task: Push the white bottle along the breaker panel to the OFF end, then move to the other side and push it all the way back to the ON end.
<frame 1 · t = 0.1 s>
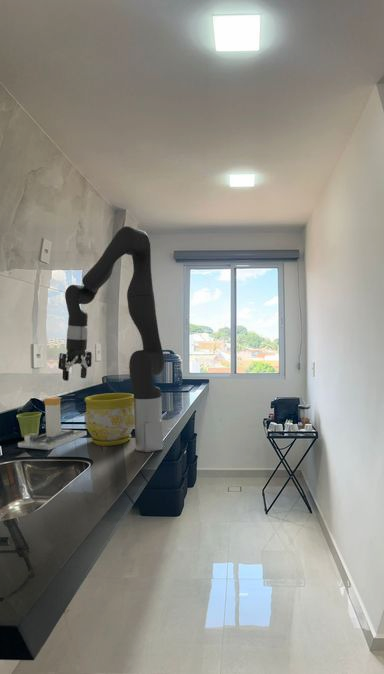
hand: (74, 379, 152), 22 cm above the countertop, tool pointing down, fingers open, 8 cm apart
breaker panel: (54, 440, 148), on the countertop
plant pot: (30, 436, 157), on the countertop
flowerpot: (111, 441, 144), on the countertop
white bottle: (53, 417, 148), point 9 cm above the countertop, slide at 0.0 cm
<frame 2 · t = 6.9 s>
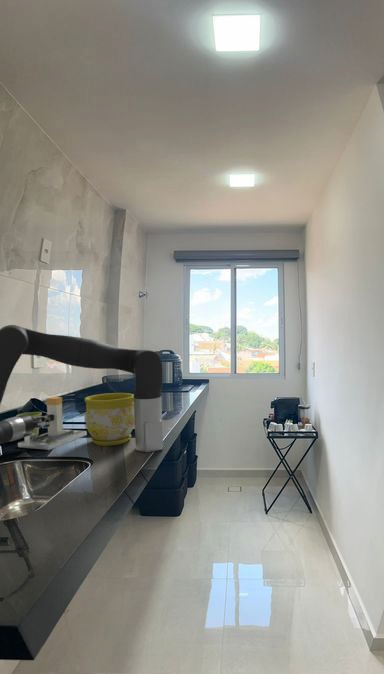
hand: (52, 417, 147), 9 cm above the countertop, tool horizontal, fingers closed
white bottle: (54, 416, 149), point 9 cm above the countertop, slide at -1.0 cm, touching gripper
everything else where it was.
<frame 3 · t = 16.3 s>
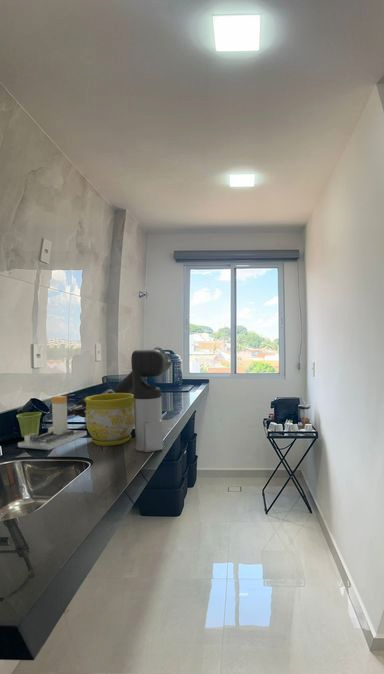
hand: (62, 414, 153), 9 cm above the countertop, tool horizontal, fingers closed
white bottle: (59, 415, 151), point 9 cm above the countertop, slide at -3.7 cm, touching gripper
everything else where it was.
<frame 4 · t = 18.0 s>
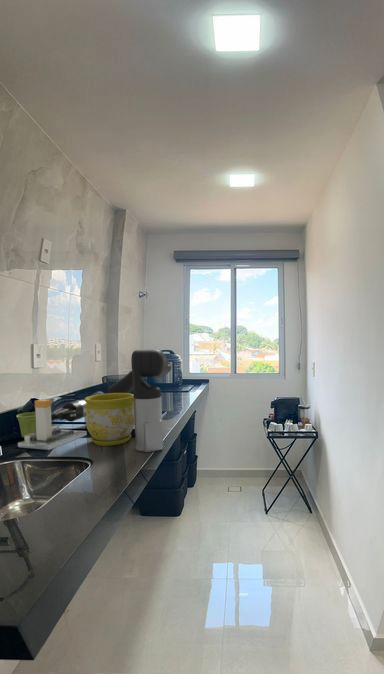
hand: (46, 419, 145), 9 cm above the countertop, tool horizontal, fingers closed
white bottle: (43, 419, 143), point 9 cm above the countertop, slide at 5.0 cm, touching gripper
everything else where it was.
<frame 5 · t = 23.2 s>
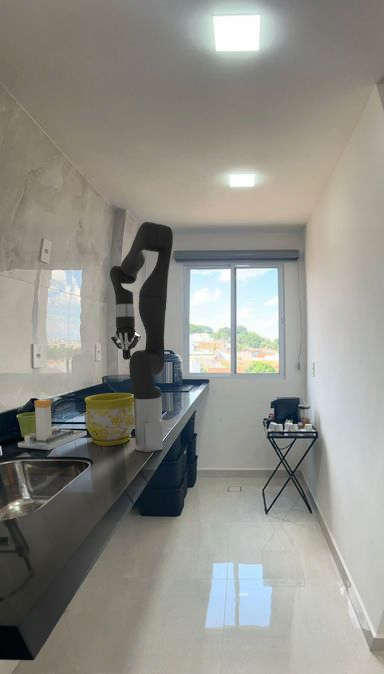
hand: (126, 359, 156), 29 cm above the countertop, tool pointing down, fingers closed
white bottle: (43, 419, 143), point 9 cm above the countertop, slide at 5.0 cm
everything else where it was.
at the end: white bottle slide at 5.0 cm; white bottle touching nothing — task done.
